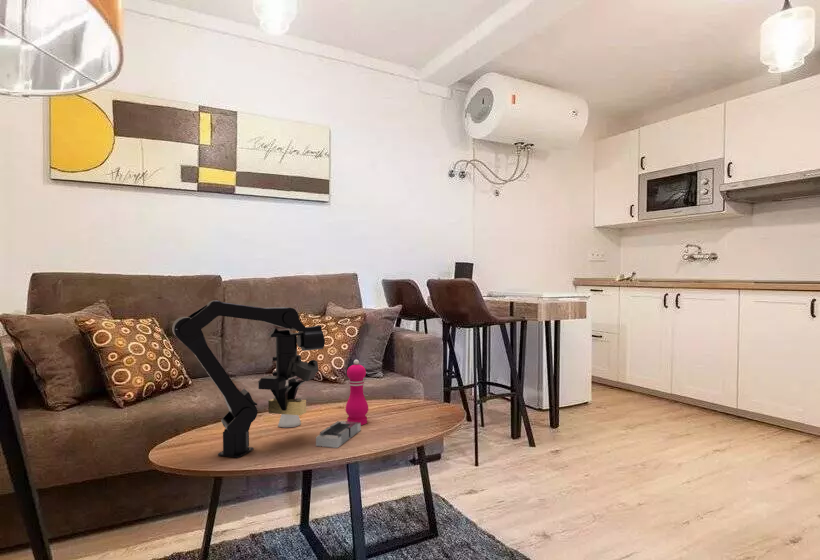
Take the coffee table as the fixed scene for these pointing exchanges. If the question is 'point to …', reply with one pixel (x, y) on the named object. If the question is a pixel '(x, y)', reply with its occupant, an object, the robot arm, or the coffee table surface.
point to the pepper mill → (356, 394)
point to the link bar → (288, 407)
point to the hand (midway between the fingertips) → (287, 408)
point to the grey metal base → (337, 434)
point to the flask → (289, 421)
